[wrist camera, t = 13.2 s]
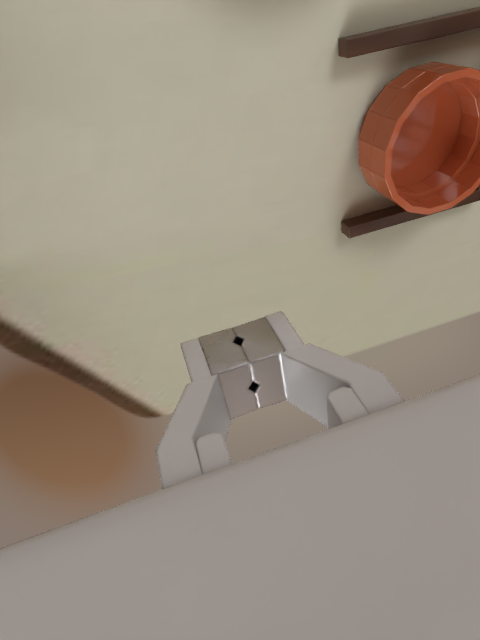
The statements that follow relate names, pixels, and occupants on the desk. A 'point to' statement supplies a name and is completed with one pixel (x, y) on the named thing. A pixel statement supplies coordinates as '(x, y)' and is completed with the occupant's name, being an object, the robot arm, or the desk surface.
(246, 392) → the robot arm
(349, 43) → the frame
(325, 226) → the desk surface
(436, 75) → the bowl
